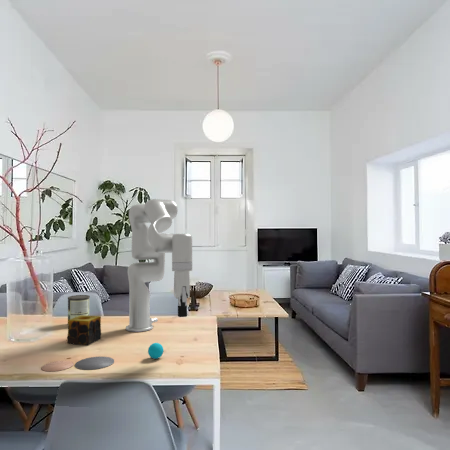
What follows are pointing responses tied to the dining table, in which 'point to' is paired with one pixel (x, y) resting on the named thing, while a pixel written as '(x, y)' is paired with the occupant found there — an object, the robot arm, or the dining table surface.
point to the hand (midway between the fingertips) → (182, 316)
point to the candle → (84, 330)
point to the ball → (155, 350)
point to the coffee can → (78, 306)
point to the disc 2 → (94, 363)
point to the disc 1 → (57, 366)
